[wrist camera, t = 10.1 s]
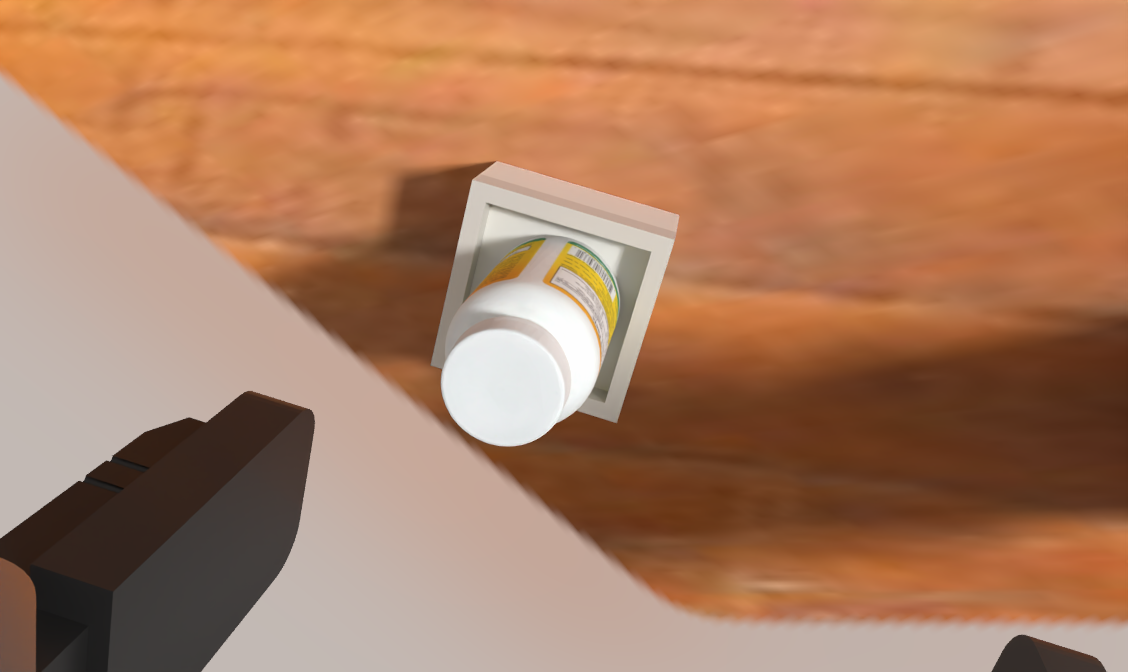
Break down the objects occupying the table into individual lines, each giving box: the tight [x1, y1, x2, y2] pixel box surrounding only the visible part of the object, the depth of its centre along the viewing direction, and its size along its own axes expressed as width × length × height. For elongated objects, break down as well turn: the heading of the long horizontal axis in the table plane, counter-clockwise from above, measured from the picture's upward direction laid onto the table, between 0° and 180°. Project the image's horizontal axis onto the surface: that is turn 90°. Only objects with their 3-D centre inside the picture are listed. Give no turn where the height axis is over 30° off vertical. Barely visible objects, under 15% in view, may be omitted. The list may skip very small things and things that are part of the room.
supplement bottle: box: [441, 236, 620, 446], centre depth 34 cm, size 5×5×10 cm
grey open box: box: [431, 161, 680, 423], centre depth 39 cm, size 8×8×4 cm
